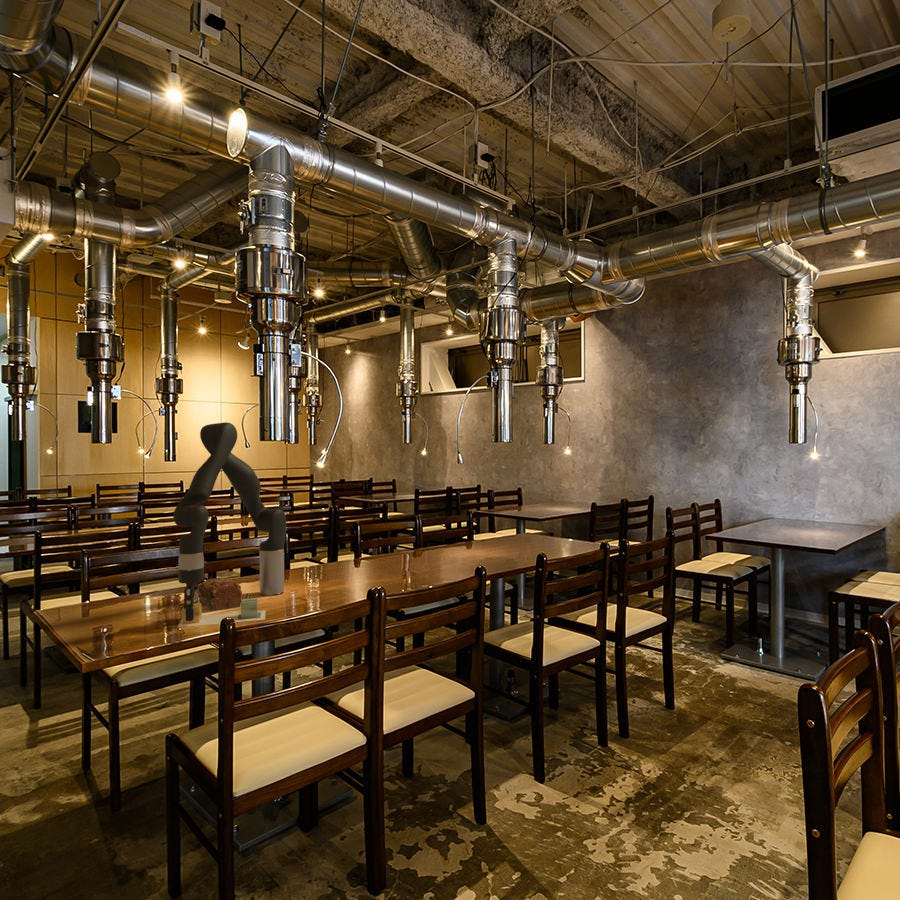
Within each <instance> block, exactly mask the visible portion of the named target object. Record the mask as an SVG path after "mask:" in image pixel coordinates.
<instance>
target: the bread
mask: <svg viewBox="0 0 900 900" xmlns="http://www.w3.org/2000/svg"><path fill="white" fill-rule="evenodd" d="M198 586H199V591H198V592H199V595H198V596H199V598H198V601H199V603H201V607H206V608H207V609H209V610H210V611H212V612H218V611H223V610H224V611H225V610H229V609H230V610H231V609H237V608H241V600H242V597H243V596H242V595H243V592H242V586H241V585H240V584H239V583H238V582H236V581H234V580H232V579H230V578H225V577H215V578H208V579H206V580H205V581H204V582H203V581H202V583H200V584H199V585H198Z"/></svg>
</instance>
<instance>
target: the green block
mask: <svg viewBox="0 0 900 900" xmlns="http://www.w3.org/2000/svg"><path fill="white" fill-rule="evenodd" d="M258 606H259V605H258V598H245V599H244V598H243V599H241V606H240V612H241V618H251V617H257V614H258V611H259V609H258Z"/></svg>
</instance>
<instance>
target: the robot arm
mask: <svg viewBox="0 0 900 900" xmlns="http://www.w3.org/2000/svg"><path fill="white" fill-rule="evenodd" d="M199 437H200V440H201V444H202V445H203V447H204V448H205V449H206V451H207V452H208V453H209V457H208V458H207V459H206V460H205V461H204V463H202V465H201V466H200V467H199V468H198V469H197V471H196V472H195V474H194V475H193V478H192V480H191V482H190V485H189V488H188V491H187V492H186V493H185V494H184V496H183V497H182V498H181V500H180V501H179V502H178V504H177V505H176V507H175V509H174V511H173V522H174V524H175V525H177V526H178V527H183V528H186V527H190V528H191V531H190V532H189V533H185V534H183V535H181V536H180V538H179V540H178V541H179V543H178V544H179V545H178V546H179V552H178V553H179V554H178V582H179V583H180V584H186V586H185V588H183V606H184V609H186V621H192V620H193V619H194V604H197V603H198V601H199V586H200V585H199V583H201V582H203V581H204V579H205V557H204V537H205V533H206V529H207V526H208V522H209V519H210V512H209V510H208V508H207V507H206V506H205V505H202V504H203V503H206V502H208V501H209V500H210V498H211V495H212V492H213V489H214V488H215V484H216V481H217V479H218V476H219V474H220V472H221V470H222V472H223V473H224V475H225V476H226V477H227V479H228V480H229V482H230V484H231V486H232V487H233V489H234V490H235V492H236V493H237V495H238V497H239V498H240V499H241V501H242V503H243V504H244V506H245V508H246V509H247V512H248V514H249V516H250V518H251V520H252V522H253V524H254V526H255V527H256V529H257V530H258V531H259V532H263V533H268V538H267V539H266V540H263V541H261V542H259V547H258V548H259V595H261V594H263V595H262V596H272V595H271V594H278V593H282V592H284V593H285V543H286V538H287V537H286V535H287V518H286V517H287V516H286V512H285V511H284V510H283V509H279V508H267V507H266V506H265V505H264V503H263V502H262V500H261V497H260V494H261V481H260V479H259V477H258V476H257V474H256V472H255V470H254V469H253V468H252V467H251V465H249V464H248V463H247V462H245V461H243V459H240V458H239V457H237V456H236V455H235V454H233V453H232V451H233V450H234V447H235V445H236V442H237V440H238V431H237V428H236V426H235V425H234V424H233V423H231V422H217V423H211V424H206V425H204V426H202V427H201V429H200V432H199ZM282 594H283V593H282ZM278 595H279V594H278Z"/></svg>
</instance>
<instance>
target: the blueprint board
mask: <svg viewBox="0 0 900 900" xmlns="http://www.w3.org/2000/svg"><path fill="white" fill-rule="evenodd" d="M225 617H231V618H233V619H234V620H235V621H236V622H235V623H241V622H243V623H244V622H251V621H252V622H253V621H254V622H255V621H264V620H266V610H258V614H257V617H251V618H241V611H240V612H229V613H220V614H217V613H216V614H208V615H207V614H206V615H201V620H200V622H199V623H188V624H182V619H181V620H180V622H179V623H178V625H177V628H187V627H197V626H199V627H200V626H208V625H209V626H210V625H220V620H221V619H222V618H225Z"/></svg>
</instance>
